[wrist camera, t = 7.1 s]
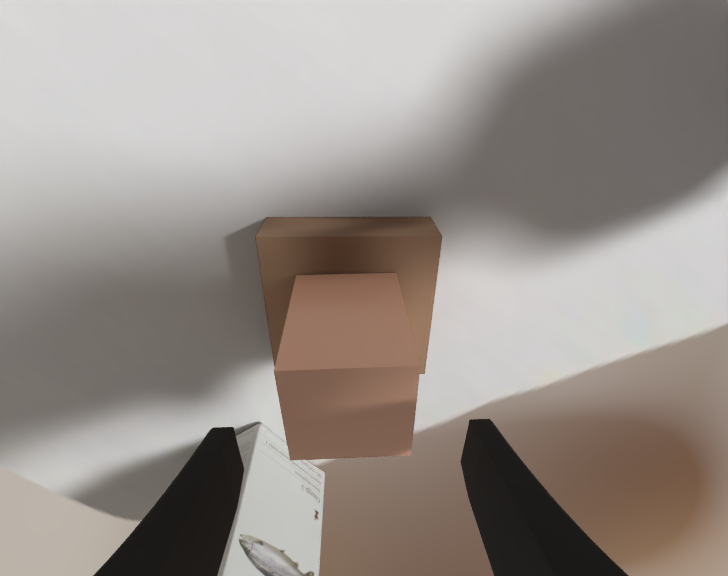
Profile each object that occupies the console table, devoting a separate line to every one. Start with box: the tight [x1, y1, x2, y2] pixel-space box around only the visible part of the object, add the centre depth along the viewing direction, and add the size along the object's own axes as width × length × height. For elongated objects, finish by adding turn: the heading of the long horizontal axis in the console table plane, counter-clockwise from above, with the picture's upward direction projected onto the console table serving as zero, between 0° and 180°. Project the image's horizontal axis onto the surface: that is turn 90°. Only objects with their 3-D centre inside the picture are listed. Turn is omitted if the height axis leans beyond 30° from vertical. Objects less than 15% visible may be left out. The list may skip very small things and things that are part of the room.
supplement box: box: [217, 423, 325, 576], centre depth 21 cm, size 7×7×13 cm
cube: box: [274, 273, 420, 460], centre depth 15 cm, size 4×4×6 cm
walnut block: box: [255, 217, 442, 374], centre depth 19 cm, size 8×8×3 cm
